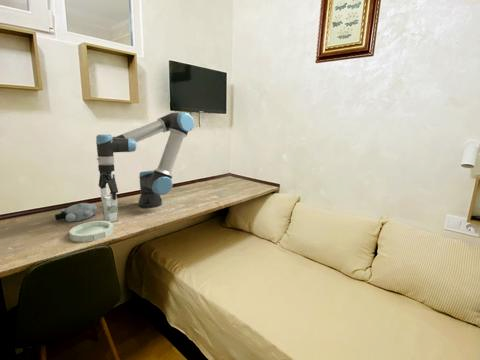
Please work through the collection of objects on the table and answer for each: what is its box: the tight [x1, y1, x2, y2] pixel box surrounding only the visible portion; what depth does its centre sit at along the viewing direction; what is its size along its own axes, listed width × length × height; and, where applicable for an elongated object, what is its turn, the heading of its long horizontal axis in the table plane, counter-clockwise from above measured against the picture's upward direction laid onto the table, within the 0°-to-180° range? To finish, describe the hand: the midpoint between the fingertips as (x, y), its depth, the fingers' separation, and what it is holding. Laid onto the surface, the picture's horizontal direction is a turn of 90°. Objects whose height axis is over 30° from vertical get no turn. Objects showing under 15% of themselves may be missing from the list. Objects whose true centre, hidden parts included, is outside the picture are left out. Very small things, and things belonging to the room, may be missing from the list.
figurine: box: [54, 202, 98, 222], centre depth 142 cm, size 17×8×20 cm
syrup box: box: [101, 194, 119, 223], centre depth 139 cm, size 6×6×14 cm
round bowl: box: [68, 220, 115, 243], centre depth 123 cm, size 18×18×3 cm
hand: (108, 202), depth 138 cm, fingers open, 13 cm apart
